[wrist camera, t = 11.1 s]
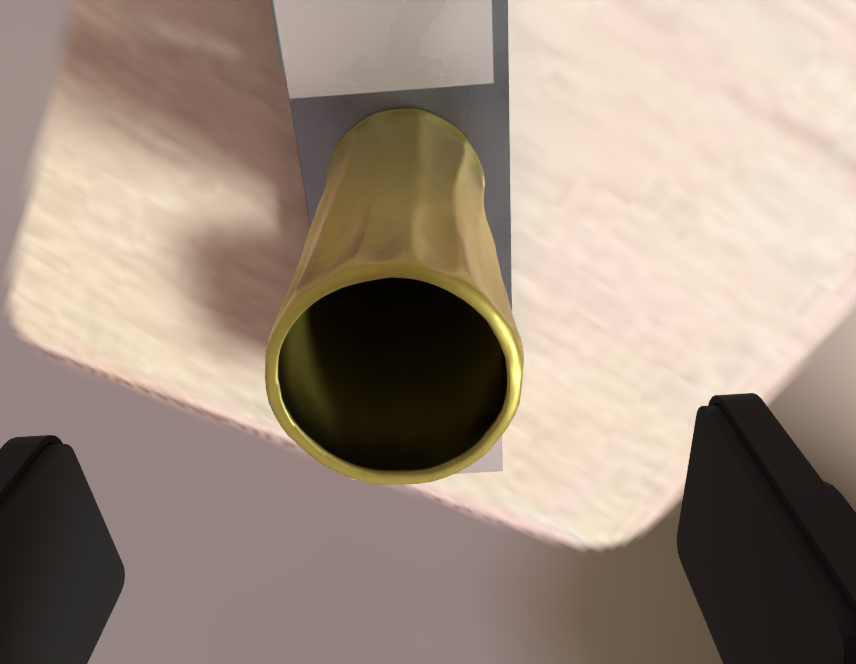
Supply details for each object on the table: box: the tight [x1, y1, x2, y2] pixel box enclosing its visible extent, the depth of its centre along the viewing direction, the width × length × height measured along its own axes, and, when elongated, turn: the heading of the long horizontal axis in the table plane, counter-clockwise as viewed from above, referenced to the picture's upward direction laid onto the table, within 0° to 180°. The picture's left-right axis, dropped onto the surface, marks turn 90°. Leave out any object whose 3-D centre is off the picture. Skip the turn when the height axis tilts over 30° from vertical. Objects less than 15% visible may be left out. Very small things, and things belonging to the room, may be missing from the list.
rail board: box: [271, 0, 512, 480], centre depth 24 cm, size 20×8×6 cm, turn 4°
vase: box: [265, 108, 524, 485], centre depth 20 cm, size 6×6×14 cm
